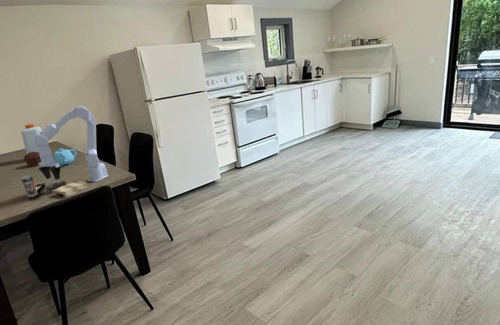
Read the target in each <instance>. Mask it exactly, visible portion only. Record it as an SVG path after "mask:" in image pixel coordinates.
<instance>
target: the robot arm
mask: <svg viewBox="0 0 500 325" xmlns="http://www.w3.org/2000/svg"><path fill="white" fill-rule="evenodd" d="M77 117H78V118H80V119H82V120H83V121H85V122H86V141H87V143H86V145H87V147H86V150H87V151H86V155H85V158H84V159H85V161H86V163H87V165H86V168H87V172H88V175H89V179H87V181H86V182H94V183H97V182H99V181H101V180H104V179H106V178H108V177H110V175H109V174H108V170H107V168H106V165H105V164H104V163H103V162H100V159H99V157H98V153H97V152H98V151H97V127H96V126H97V121H96V118H95V116H94V115H93V113H91V111H90V110H89V109H88V108H86V107H85V106H83V105H81V104H79V105H78V104H77V105H75V106H74V107H73V108H72V109H70V110H69V111H67V112H66V113H65V114H64V115H63V116H62V117H61V118H60V119H59V120H57V121H56V122H55V123H50V124H47V125H46V127H45V128H43V130H41V131H42V132H41V131H40V132H39V133H40V134H38V135H37V136H36V137H35V143H36V144H37V148H38V152H39V155H40V158H41V161H42V162H41V163H38V164H39V168H38V170H39V171H40V172H41V173H42V174H43V175H44V177H45V178H46V180H49V179H51V178H52V177H51V176H52V175H53V177H54V180H55V181H58V180H61V178H60V176H61V175H60V174H61V169H62V167H61V166H60V165H59V163H56V162H54V155H53V154H52V150H51V147H50V145H49V140H52V139H53V138H54V137H55V136H56V135H57V134H59V133H60V128H62V127H63V126H64V125H65V124H67V123H68V122H69V121H71V120H73V119H77ZM51 174H52V175H51Z"/></svg>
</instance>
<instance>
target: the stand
mask: <svg viewBox="0 0 500 325" xmlns="http://www.w3.org/2000/svg"><path fill="white" fill-rule="evenodd" d="M86 188H89V184H88V181H82V180H81V181H80V180H79V181H78V180H74V181H71V182H69V183H66V185H64V186H62V187H59V188H57V189H55V190H52V192H53V193H52V195H53V197H57V196H60V195H61V194H62V196H63V197H64V198H67V197H69V196H72V195H75V194H76V193H78V192H80V191H82V190H85V189H86Z"/></svg>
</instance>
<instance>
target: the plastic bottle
mask: <svg viewBox="0 0 500 325" xmlns="http://www.w3.org/2000/svg"><path fill="white" fill-rule="evenodd" d="M40 131H41V132H42V131H43V130H42V128H41V127H40V126H35V124H34V123H30V124H26V125H24V128H23V129H22V130H21V131H20V132H21V133H20V134H21V137H22V140H23V141H22V142H23V145H24V149H25V152H26V154H27V153H30V152H38V148H37V144H36V143H35V137H36V136H37V135H38V134H40V133H39V132H40ZM26 154H25V155H26Z"/></svg>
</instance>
